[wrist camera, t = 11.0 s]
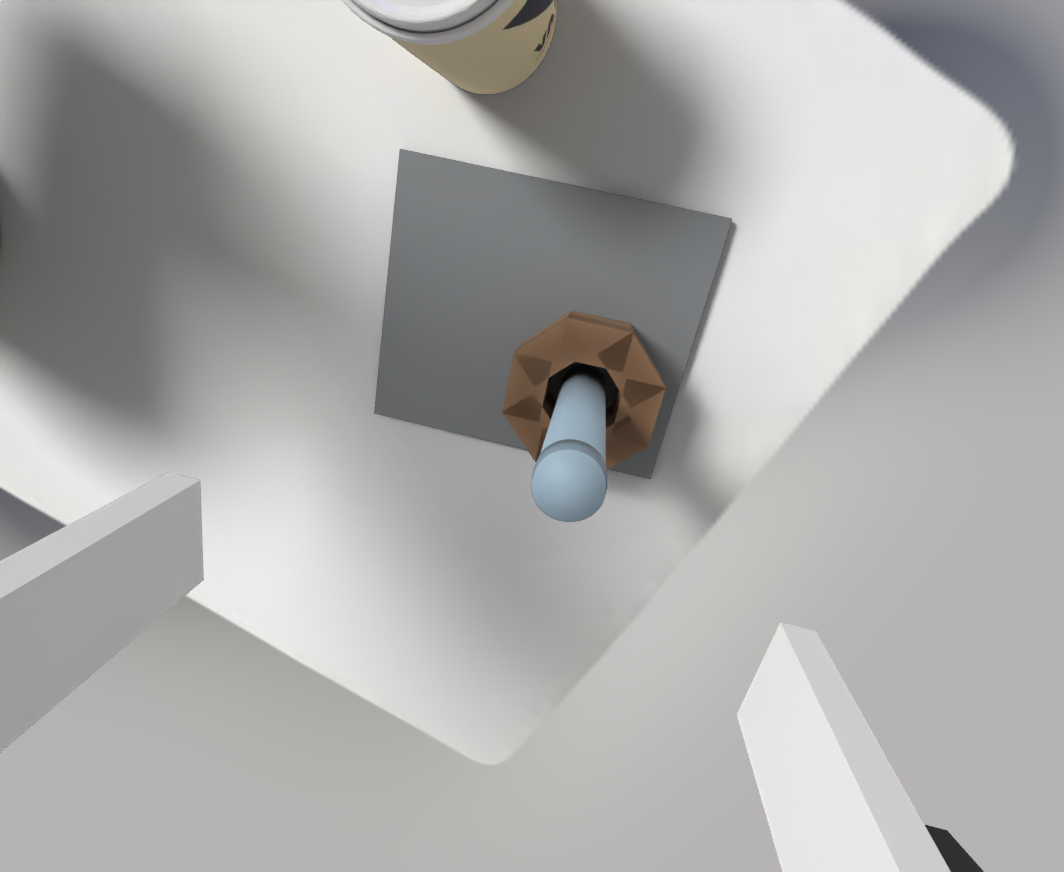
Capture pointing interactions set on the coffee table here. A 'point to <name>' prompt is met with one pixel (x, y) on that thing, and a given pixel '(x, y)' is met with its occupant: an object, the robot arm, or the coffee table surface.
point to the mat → (528, 288)
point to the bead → (593, 346)
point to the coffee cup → (468, 36)
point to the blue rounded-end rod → (574, 449)
